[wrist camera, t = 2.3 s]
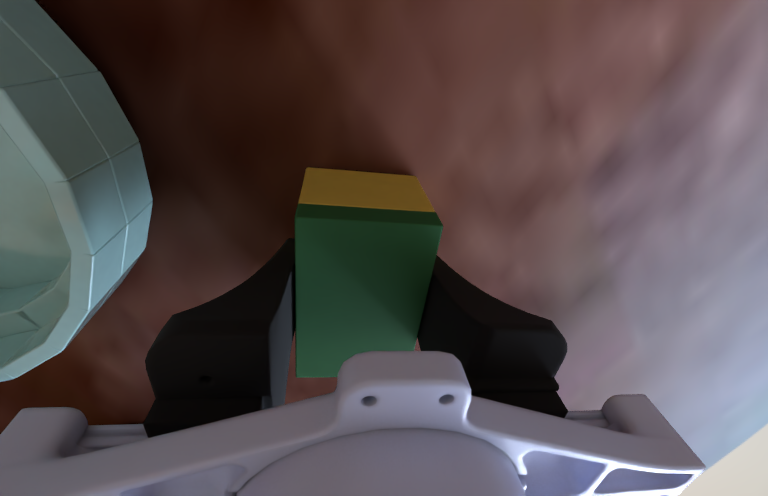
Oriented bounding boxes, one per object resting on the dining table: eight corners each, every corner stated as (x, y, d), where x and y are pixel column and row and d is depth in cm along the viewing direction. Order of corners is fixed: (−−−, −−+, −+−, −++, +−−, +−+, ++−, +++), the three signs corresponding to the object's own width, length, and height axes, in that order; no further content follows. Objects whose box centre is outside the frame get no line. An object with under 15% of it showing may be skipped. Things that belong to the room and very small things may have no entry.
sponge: (393, 304, 18) (408, 376, 14) (304, 302, 18) (295, 378, 14) (416, 175, 15) (443, 225, 11) (306, 166, 14) (294, 216, 10)
